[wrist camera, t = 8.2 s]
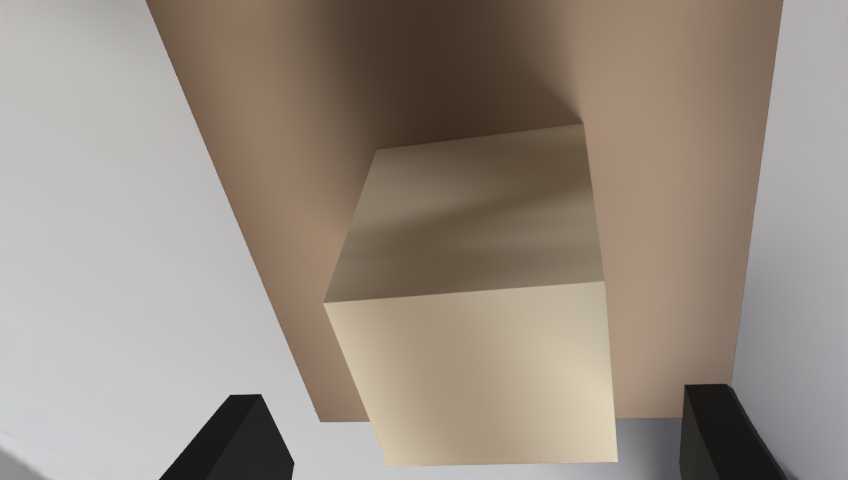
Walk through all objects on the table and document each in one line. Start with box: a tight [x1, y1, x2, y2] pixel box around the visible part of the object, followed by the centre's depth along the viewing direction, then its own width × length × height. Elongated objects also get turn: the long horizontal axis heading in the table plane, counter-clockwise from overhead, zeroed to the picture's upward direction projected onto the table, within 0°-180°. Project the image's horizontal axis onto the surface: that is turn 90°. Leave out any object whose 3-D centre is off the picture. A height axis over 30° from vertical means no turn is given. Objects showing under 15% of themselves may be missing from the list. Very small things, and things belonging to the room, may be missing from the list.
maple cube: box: [323, 123, 618, 467], centre depth 14 cm, size 4×4×5 cm
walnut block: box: [146, 0, 783, 422], centre depth 17 cm, size 12×14×3 cm
